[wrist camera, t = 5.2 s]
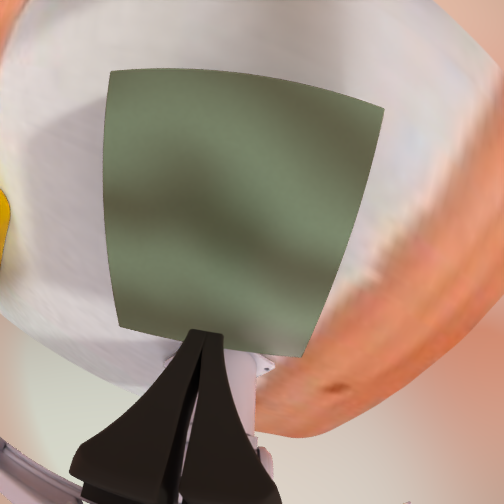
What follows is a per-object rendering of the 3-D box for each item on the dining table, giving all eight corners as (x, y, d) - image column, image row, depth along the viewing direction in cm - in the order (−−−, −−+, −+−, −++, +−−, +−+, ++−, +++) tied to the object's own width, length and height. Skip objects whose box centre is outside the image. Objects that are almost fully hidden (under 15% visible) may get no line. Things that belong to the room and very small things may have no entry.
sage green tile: (300, 350, 16) (301, 357, 16) (122, 320, 16) (119, 326, 15) (379, 108, 10) (385, 108, 9) (116, 72, 9) (110, 70, 8)
